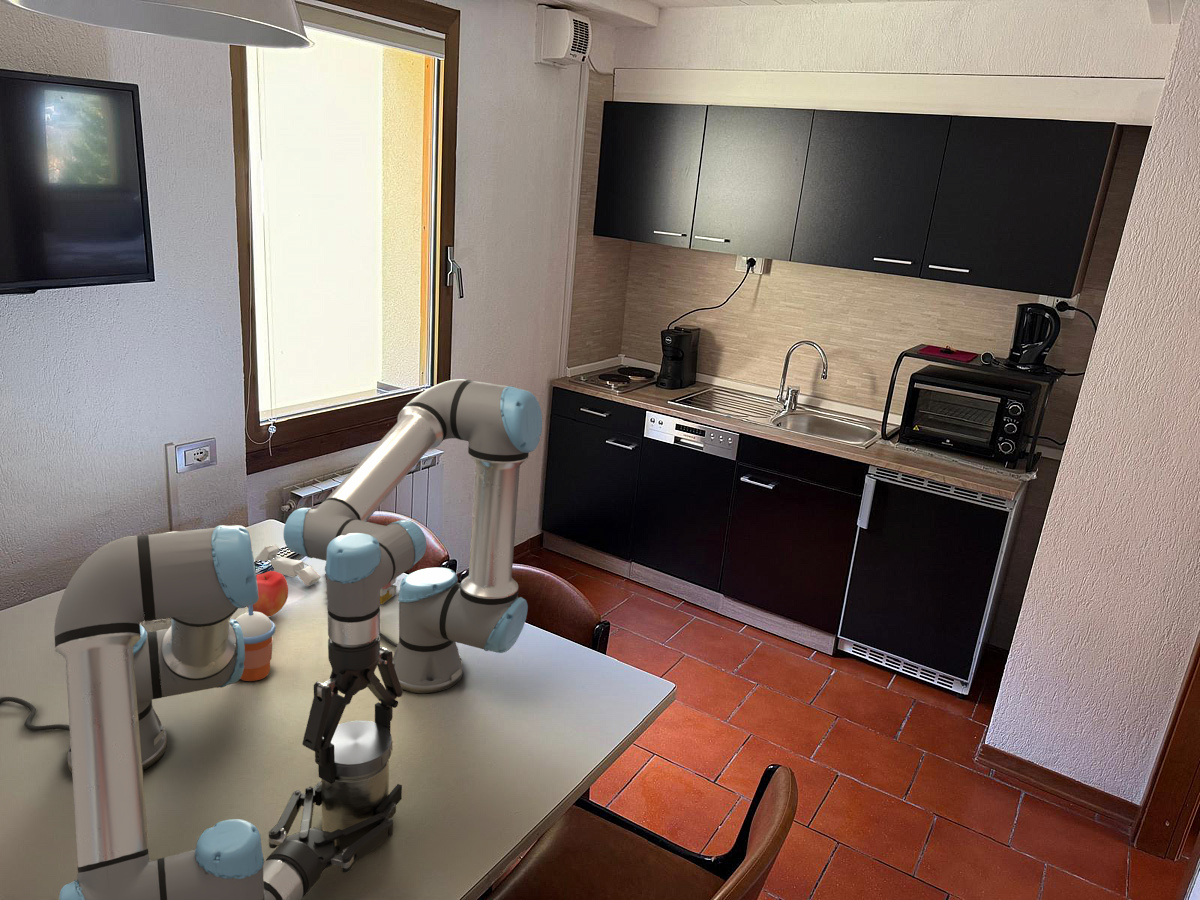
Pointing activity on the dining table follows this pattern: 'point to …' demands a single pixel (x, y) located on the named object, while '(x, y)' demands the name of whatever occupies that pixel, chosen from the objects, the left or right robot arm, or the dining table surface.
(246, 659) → the cup with straw
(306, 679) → the dining table surface
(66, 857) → the dining table surface
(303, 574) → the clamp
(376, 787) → the jar
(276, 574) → the apple
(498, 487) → the right robot arm
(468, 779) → the dining table surface
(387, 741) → the lid
